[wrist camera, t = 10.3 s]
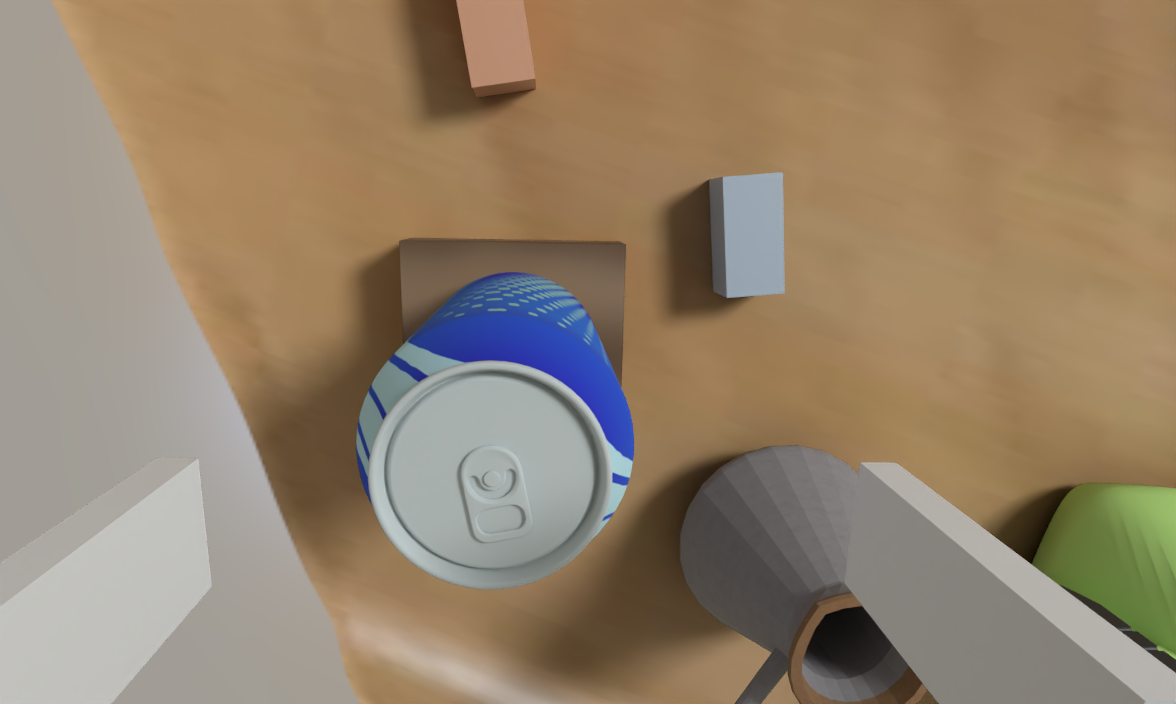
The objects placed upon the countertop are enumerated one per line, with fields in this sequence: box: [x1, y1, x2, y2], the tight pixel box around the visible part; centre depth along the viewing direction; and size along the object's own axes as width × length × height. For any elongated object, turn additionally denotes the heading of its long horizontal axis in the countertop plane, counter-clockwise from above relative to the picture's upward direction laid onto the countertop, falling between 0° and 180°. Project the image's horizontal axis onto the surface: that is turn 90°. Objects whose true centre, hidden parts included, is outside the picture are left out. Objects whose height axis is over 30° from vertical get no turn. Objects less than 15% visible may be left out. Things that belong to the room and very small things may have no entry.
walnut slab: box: [399, 238, 626, 387], centre depth 35 cm, size 11×11×3 cm
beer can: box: [356, 272, 634, 589], centre depth 26 cm, size 8×8×16 cm
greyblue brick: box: [709, 172, 785, 298], centre depth 35 cm, size 6×3×3 cm, turn 4°
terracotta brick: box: [456, 0, 536, 97], centre depth 32 cm, size 6×3×3 cm, turn 8°
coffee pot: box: [680, 445, 928, 704], centre depth 33 cm, size 21×12×15 cm, turn 129°
